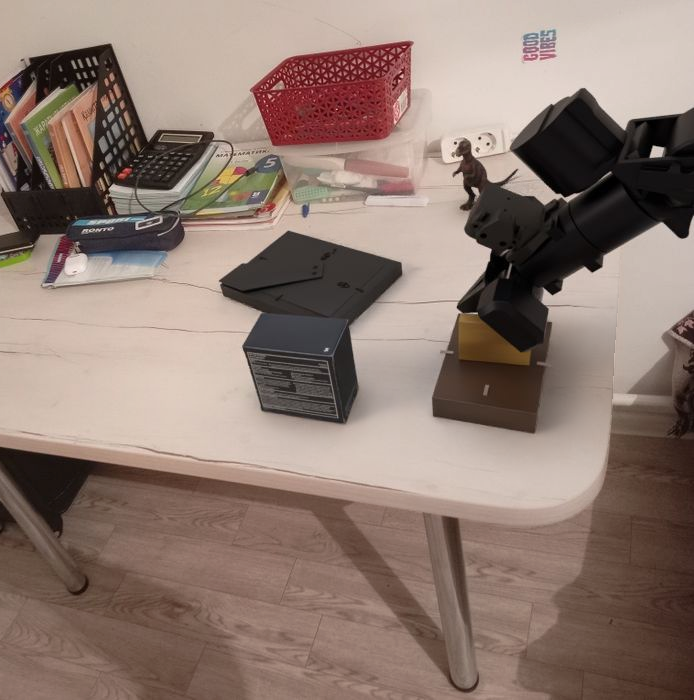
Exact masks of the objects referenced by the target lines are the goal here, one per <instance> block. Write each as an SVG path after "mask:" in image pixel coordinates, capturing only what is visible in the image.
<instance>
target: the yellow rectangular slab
mask: <svg viewBox="0 0 694 700" xmlns="http://www.w3.org/2000/svg"><path fill="white" fill-rule="evenodd" d="M460 313H461V314H460V318H459V359H461V360H472V361H483V362H495V363H506V364H517V365H528V366H529V364H530V354H531V350H530V351H528V352H524V353H521V352H519V351H518V350H517V349H516V348H515V347H513V346H512V345H511V344H510V343H509V342H507V341H506V340H505V339H504V338H503V337H501V336H500V335H499V334H498V333H497V332H496V331H494V330H493V329H492V328H491V327H490V326H488V325H487V324H486V323H485V322H484V321H482V320H481V319H480V318H479V315H478V313H462V312H460Z"/></svg>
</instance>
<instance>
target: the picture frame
mask: <svg viewBox="0 0 694 700" xmlns="http://www.w3.org/2000/svg"><path fill="white" fill-rule="evenodd" d="M402 275H403V266H402V261H398V260H394V259H391V258H387V257H384V256H380V255H377V254H373V253H370V252H366V251H363V250H359V249H356V248H352V247H348V246H345V245H342V244H337V243H336V242H335V243H334V242H331V241H328V240H324V239H320V238H317V237H313V236H310V235H306V234H303V233H299V232H295V231H292V230H287V231H285V232H284V233H283V234H282V235H280V236H279V237H278V238H277V239H276V240H274V241H273V242H271V244H269V245H268V246H266V247H265V248H264V249H263V250H262V251H260V252H258V254H257V255H255V256H254V257H253V258H251V259H250V260H249V261H247V262H244V263H243V262H241V263H240V264H239V265H237V266H236V267H234V268H233V269H232V270H231V271H230V272H228V273H227V274H225V275H223V277H221V278H220V279H219V280H218V282H219V286H220V290H221V293H222V296H224V297H226V298H228V299H231V300H233V301H235V302H238V303H239V304H240V303H241V304H243V305H245V306H248V307H250V308H253V309H254V310H258V311H260V312H261V313H270V314H282V315H295V316H308V317H321V318H335V319H348V321H349V326H350V325H352V323H354V322H355V320H357V319H358V318H359V317H360V316H361V315H362V314H363V313H364V312H365V311H366V310H368V308H369V307H370V306H371V305H372V304H374V302H375V301H377V300H378V298H379V297H381V295H383V294H384V293H385V292H386V291H387V290H388V289H389V288H390V287H391V286H392V285H393V284H394V283H395V282H396V281H398V279H400V277H401V276H402Z"/></svg>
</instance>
